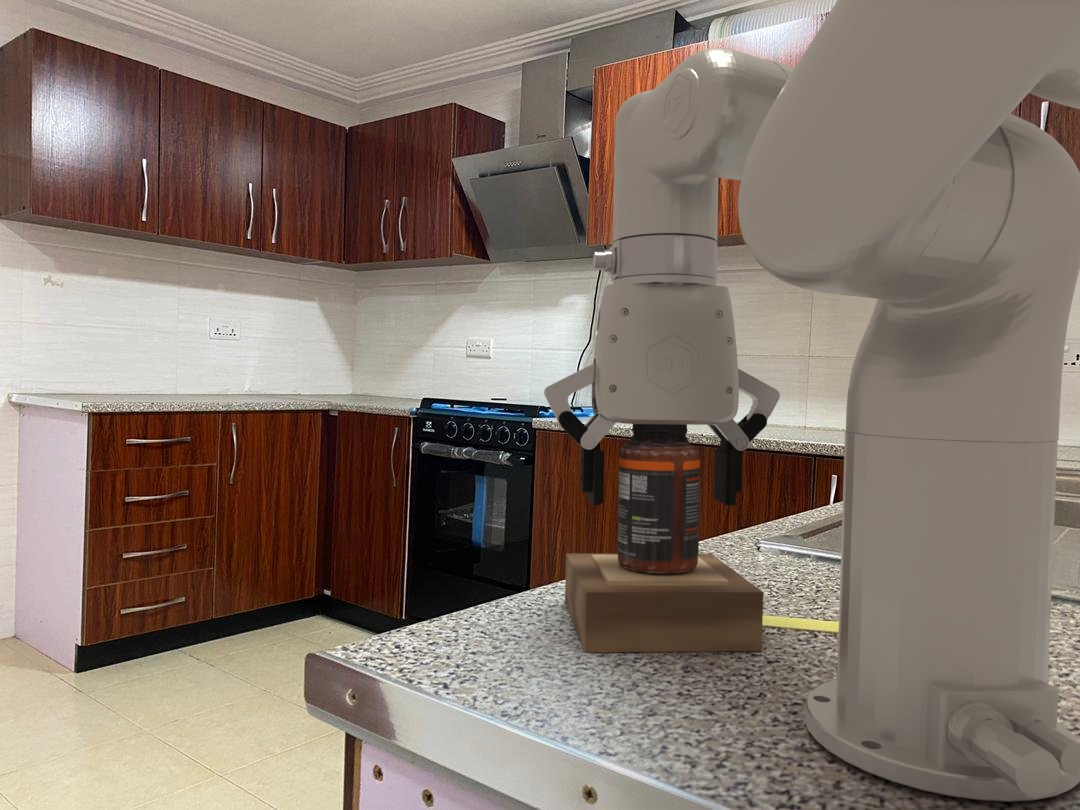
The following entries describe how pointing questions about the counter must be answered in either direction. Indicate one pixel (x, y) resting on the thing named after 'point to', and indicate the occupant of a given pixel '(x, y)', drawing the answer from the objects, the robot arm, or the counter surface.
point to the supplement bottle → (658, 500)
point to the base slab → (661, 607)
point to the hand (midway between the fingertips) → (660, 502)
